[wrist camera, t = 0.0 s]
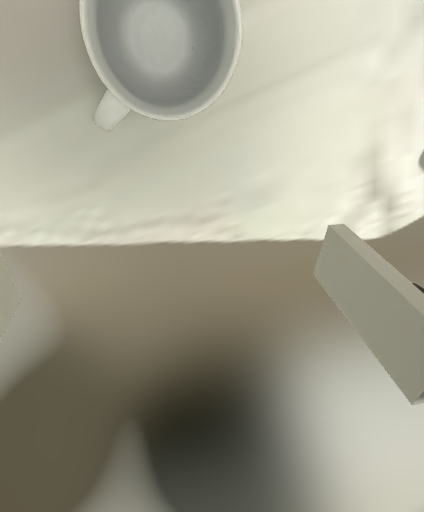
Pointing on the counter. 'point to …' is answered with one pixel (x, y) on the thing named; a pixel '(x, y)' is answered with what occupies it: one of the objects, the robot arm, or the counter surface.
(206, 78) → the mug
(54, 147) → the counter surface
